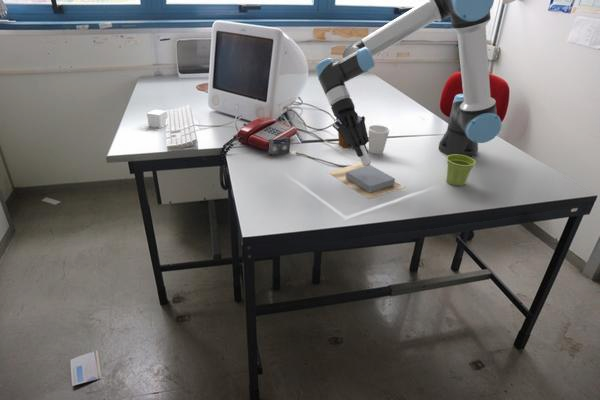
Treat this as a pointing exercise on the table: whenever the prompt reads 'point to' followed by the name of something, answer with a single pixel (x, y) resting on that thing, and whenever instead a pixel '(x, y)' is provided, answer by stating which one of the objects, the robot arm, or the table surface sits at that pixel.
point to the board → (341, 176)
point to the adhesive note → (157, 118)
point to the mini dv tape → (279, 145)
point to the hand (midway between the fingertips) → (367, 164)
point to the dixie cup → (377, 138)
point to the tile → (370, 178)
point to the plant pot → (458, 168)
